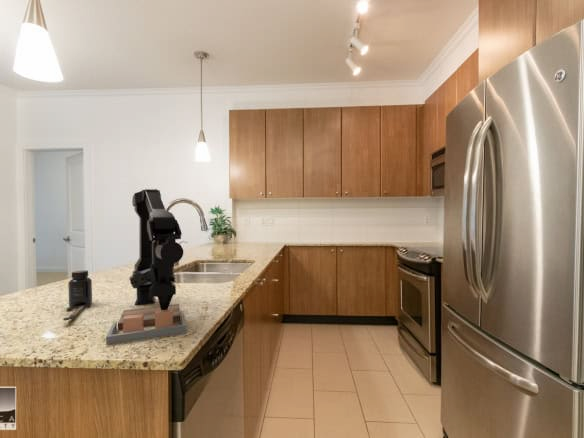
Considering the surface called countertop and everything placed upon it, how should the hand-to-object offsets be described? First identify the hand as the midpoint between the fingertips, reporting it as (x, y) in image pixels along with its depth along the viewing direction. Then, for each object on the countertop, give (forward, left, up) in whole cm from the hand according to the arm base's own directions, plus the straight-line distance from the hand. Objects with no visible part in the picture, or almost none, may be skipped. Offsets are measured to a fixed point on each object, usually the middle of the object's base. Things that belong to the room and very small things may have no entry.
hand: (163, 313), depth 85 cm
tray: (+5, -4, -4) cm, 8 cm away
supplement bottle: (-34, -28, -4) cm, 44 cm away
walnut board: (-6, -4, -4) cm, 8 cm away
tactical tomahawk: (-18, -29, -5) cm, 34 cm away
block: (+1, 0, -1) cm, 2 cm away
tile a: (+2, -7, -1) cm, 8 cm away
